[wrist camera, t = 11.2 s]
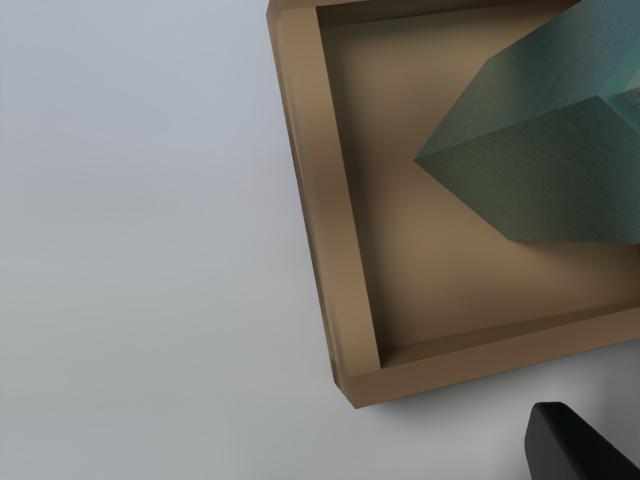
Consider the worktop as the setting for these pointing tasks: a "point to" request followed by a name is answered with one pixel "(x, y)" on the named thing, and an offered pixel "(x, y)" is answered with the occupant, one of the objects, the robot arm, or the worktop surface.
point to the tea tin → (551, 131)
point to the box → (424, 204)
